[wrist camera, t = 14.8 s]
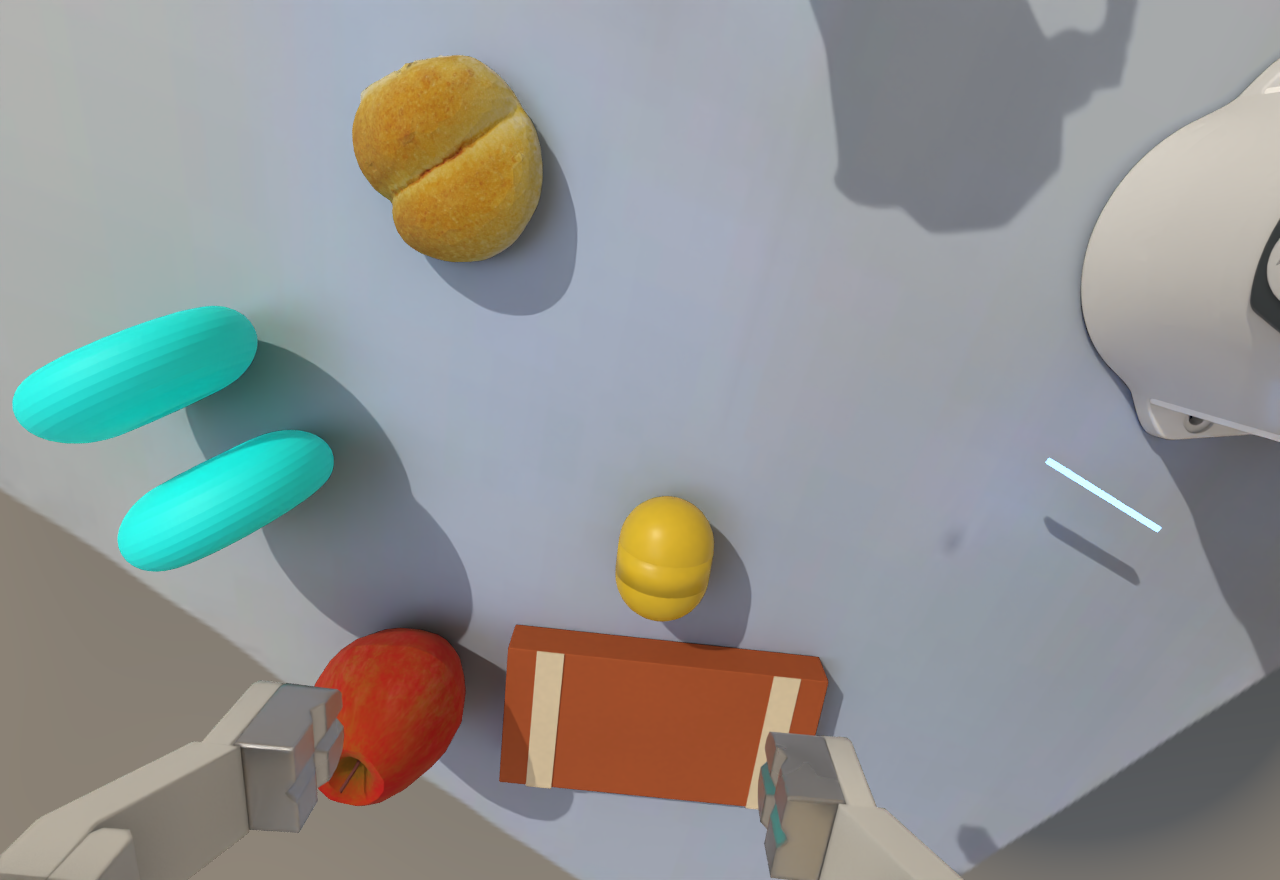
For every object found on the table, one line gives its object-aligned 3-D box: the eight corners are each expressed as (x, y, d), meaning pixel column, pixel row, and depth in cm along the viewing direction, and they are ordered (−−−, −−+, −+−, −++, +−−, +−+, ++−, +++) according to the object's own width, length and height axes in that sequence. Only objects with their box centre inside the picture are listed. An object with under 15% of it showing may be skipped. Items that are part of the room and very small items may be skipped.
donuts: (273, 286, 35) (133, 310, 25) (374, 451, 38) (282, 528, 28) (119, 364, 36) (-68, 415, 27) (228, 517, 39) (93, 613, 29)
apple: (451, 581, 40) (384, 704, 30) (502, 689, 43) (457, 837, 32) (328, 618, 41) (224, 749, 31) (386, 722, 43) (306, 875, 33)
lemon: (612, 482, 37) (644, 524, 32) (696, 480, 39) (738, 519, 34) (598, 598, 39) (627, 652, 35) (678, 591, 41) (715, 641, 37)
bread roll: (440, 286, 35) (414, 295, 31) (341, 118, 32) (300, 104, 28) (579, 211, 34) (570, 211, 30) (488, 30, 31) (466, 3, 27)
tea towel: (819, 656, 42) (829, 683, 39) (788, 781, 45) (796, 813, 42) (515, 624, 41) (507, 649, 39) (506, 753, 44) (498, 783, 42)
